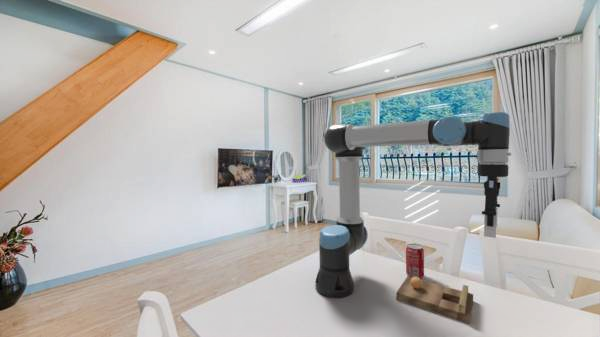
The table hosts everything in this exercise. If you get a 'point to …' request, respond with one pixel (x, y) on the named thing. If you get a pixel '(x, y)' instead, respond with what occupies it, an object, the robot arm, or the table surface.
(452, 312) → the wooden board
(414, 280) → the ball
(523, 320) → the table surface
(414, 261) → the soda can
